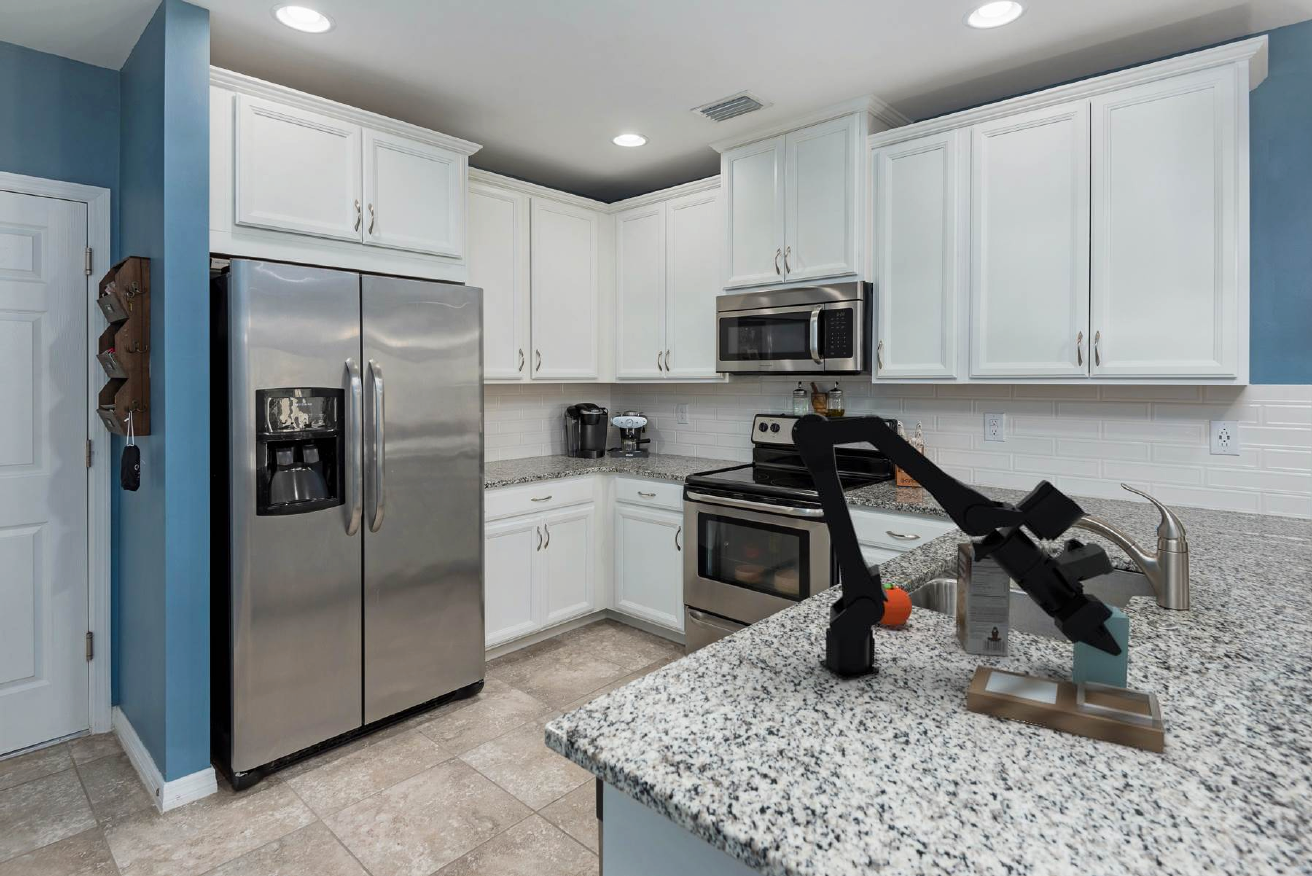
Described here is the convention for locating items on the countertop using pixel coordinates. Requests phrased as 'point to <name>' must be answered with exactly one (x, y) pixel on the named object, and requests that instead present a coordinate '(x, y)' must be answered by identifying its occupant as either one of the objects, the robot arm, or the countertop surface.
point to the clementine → (896, 606)
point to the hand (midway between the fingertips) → (1111, 646)
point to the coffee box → (982, 604)
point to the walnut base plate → (1070, 706)
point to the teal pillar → (1104, 655)
